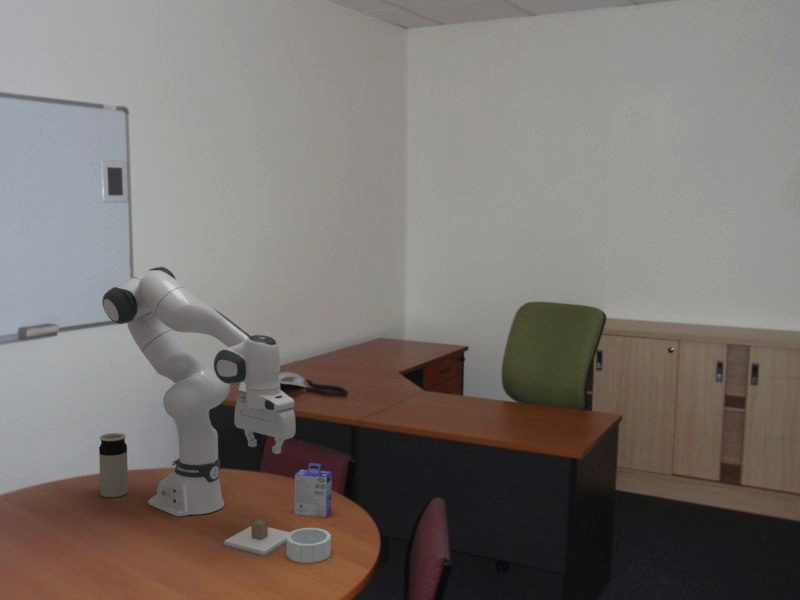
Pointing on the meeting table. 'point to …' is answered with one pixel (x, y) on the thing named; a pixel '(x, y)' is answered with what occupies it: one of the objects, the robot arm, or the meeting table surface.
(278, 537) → the lid
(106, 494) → the travel mug
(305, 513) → the ink cartridge box
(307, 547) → the bowl
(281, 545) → the mat
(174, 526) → the meeting table surface
